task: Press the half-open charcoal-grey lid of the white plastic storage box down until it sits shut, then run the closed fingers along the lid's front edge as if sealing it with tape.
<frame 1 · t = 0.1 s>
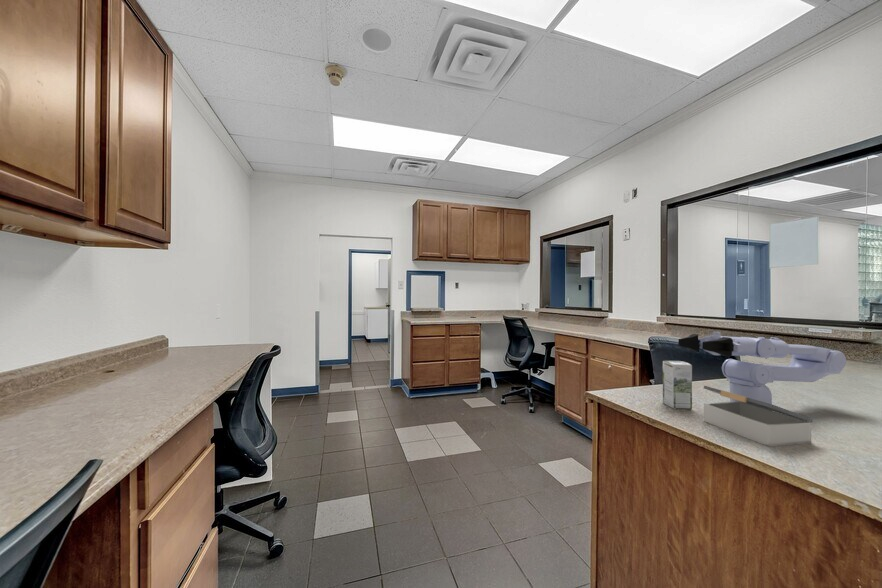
hand: (690, 343, 94), 22 cm above the worktop, tool horizontal, fingers open, 7 cm apart
lid: (752, 403, 83), point 7 cm above the worktop, hinge at 20.0°
storage box: (753, 431, 83), on the worktop
syrup box: (677, 407, 102), on the worktop
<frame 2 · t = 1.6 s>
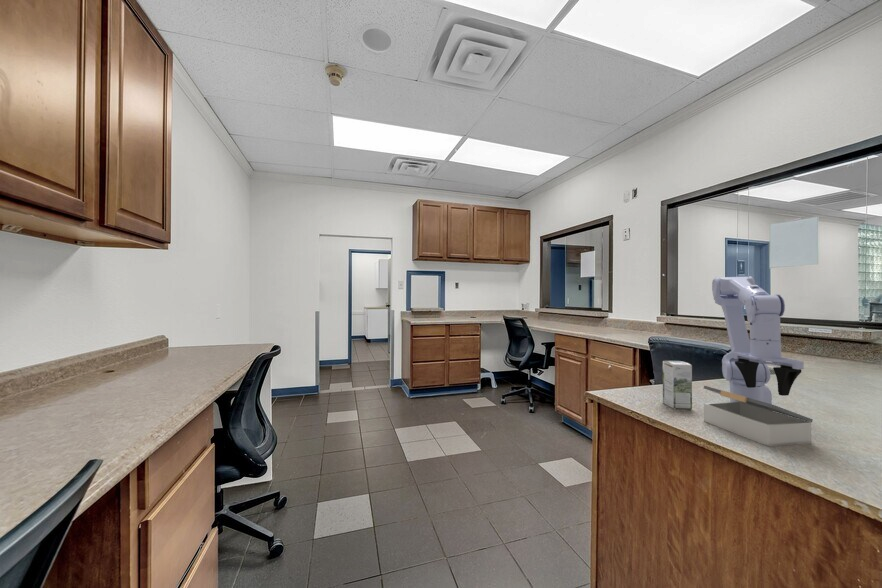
hand: (766, 391, 83), 10 cm above the worktop, tool pointing down, fingers open, 7 cm apart
nothing on the worktop moved.
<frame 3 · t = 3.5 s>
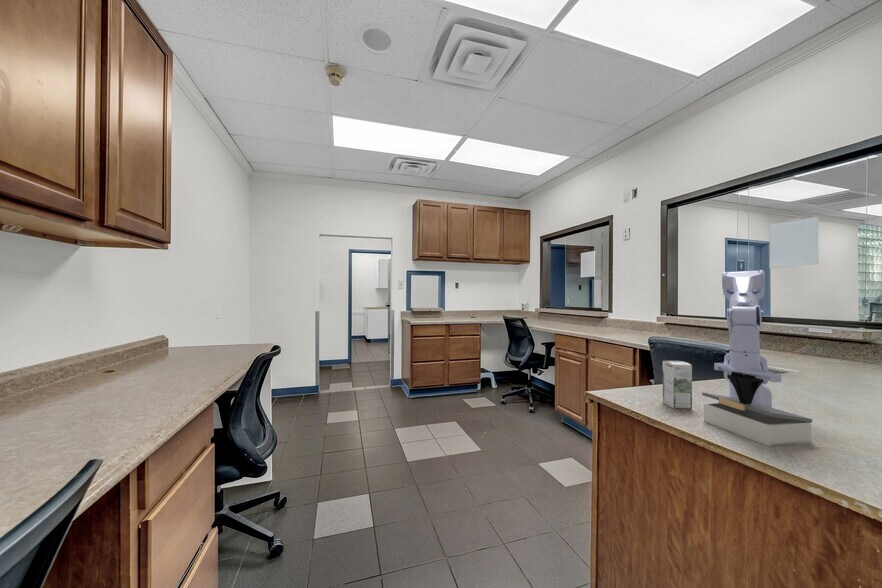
hand: (745, 403, 82), 8 cm above the worktop, tool pointing down, fingers closed, pressing on lid
lid: (751, 407, 83), point 6 cm above the worktop, hinge at 10.6°, touching gripper
everything else where it was.
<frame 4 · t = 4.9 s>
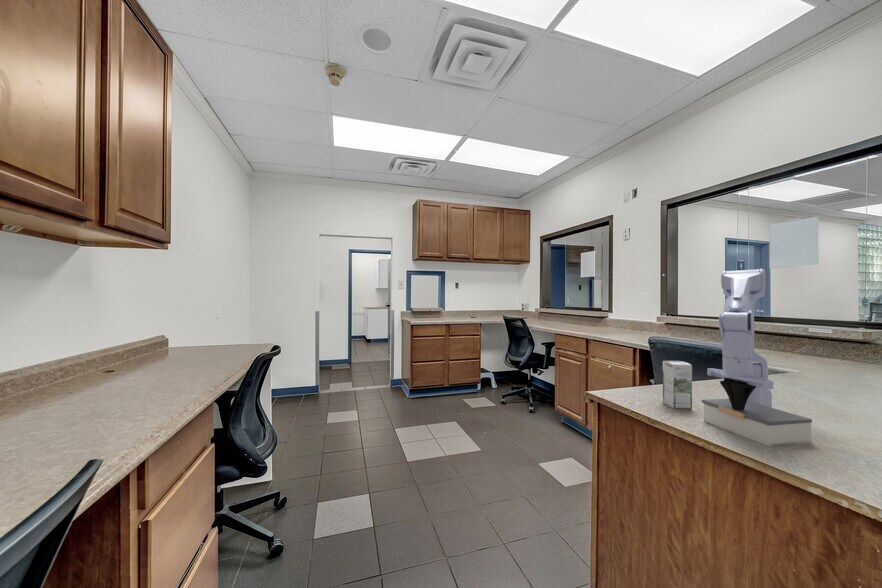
hand: (738, 409, 82), 6 cm above the worktop, tool pointing down, fingers closed
lid: (751, 411, 83), point 5 cm above the worktop, hinge at 0.8°
everything else where it was.
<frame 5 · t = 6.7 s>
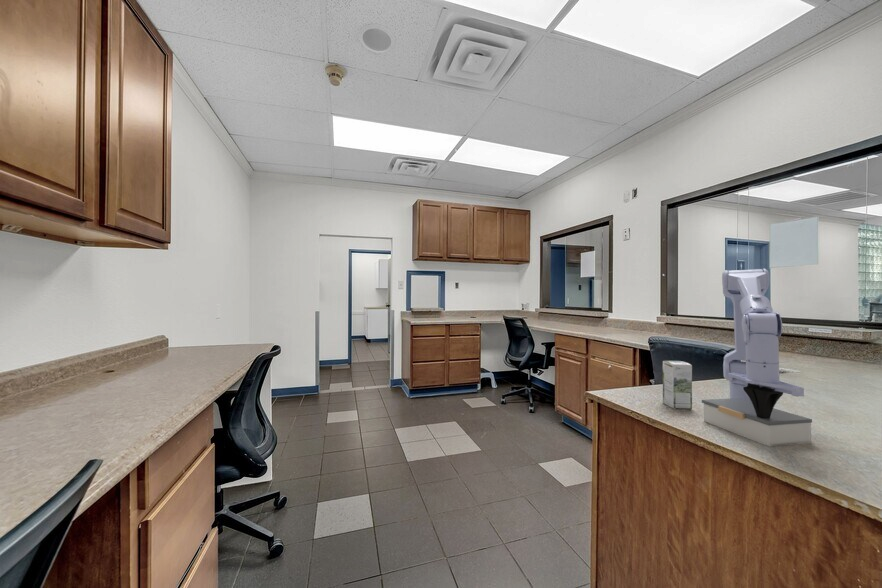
hand: (763, 417, 76), 6 cm above the worktop, tool pointing down, fingers closed, pressing on lid
lid: (751, 411, 83), point 5 cm above the worktop, hinge at 0.8°, touching gripper
everything else where it was.
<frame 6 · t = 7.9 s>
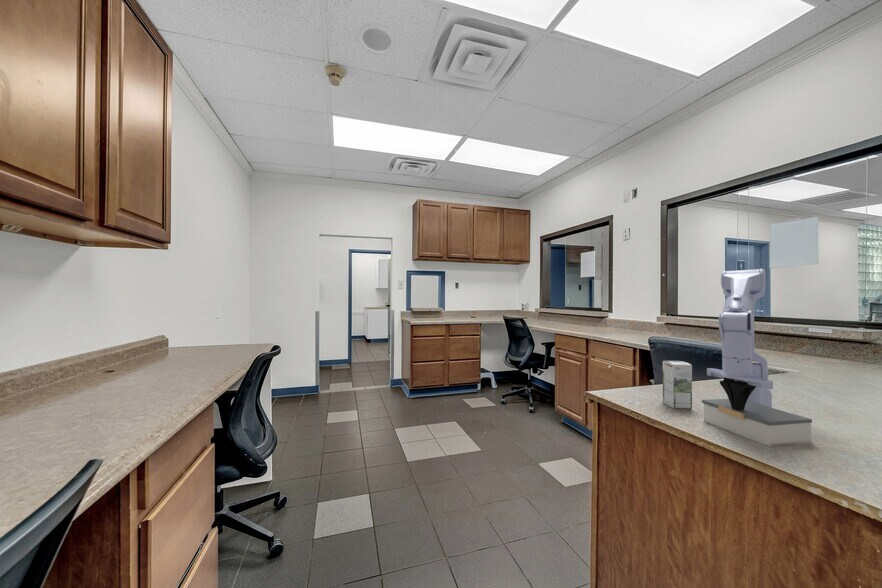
hand: (737, 409, 82), 6 cm above the worktop, tool pointing down, fingers closed
lid: (751, 411, 83), point 5 cm above the worktop, hinge at 0.8°, touching gripper
everything else where it was.
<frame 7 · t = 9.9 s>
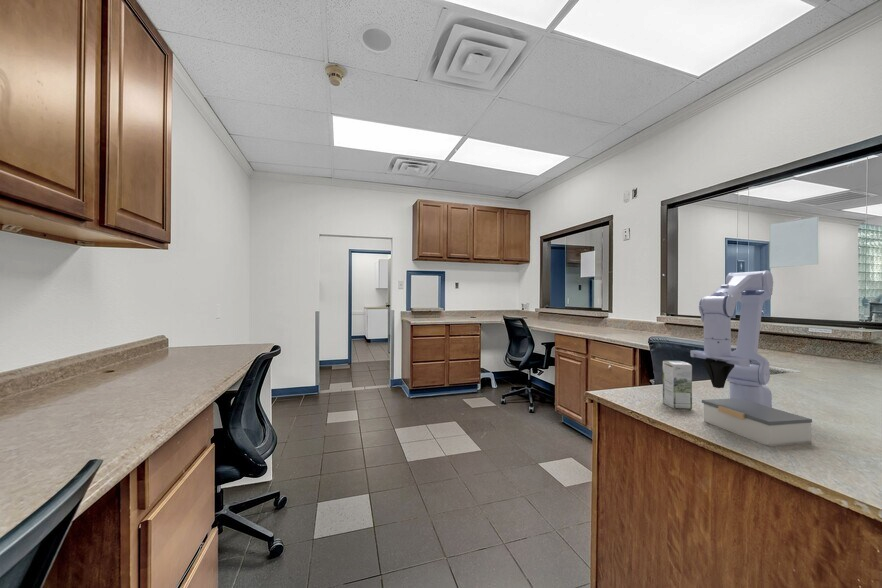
hand: (718, 387, 87), 10 cm above the worktop, tool pointing down, fingers closed
lid: (751, 411, 83), point 5 cm above the worktop, hinge at 0.8°
everything else where it was.
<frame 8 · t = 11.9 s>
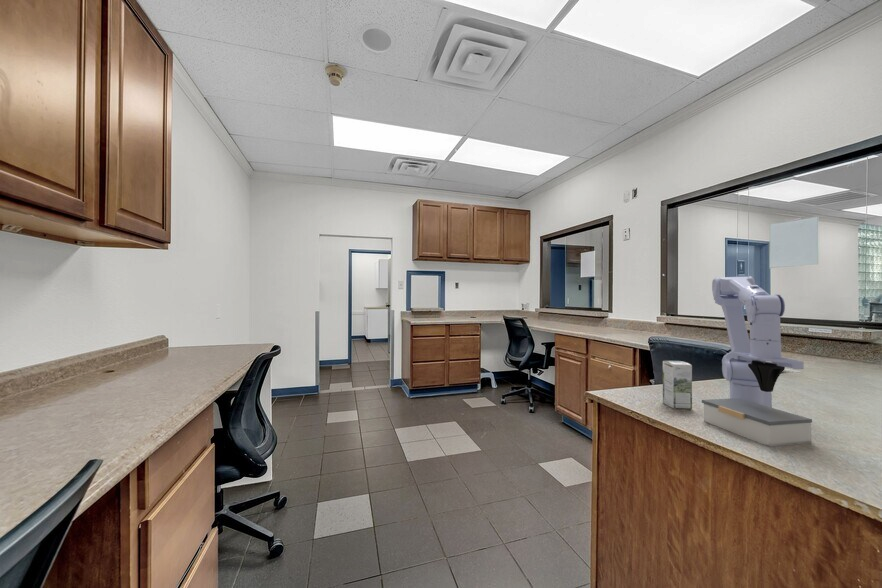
hand: (766, 391, 83), 10 cm above the worktop, tool pointing down, fingers closed
nothing on the worktop moved.
at the end: lid at +1° (first picture: +20°); syrup box moved 0.2 cm from its start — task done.
